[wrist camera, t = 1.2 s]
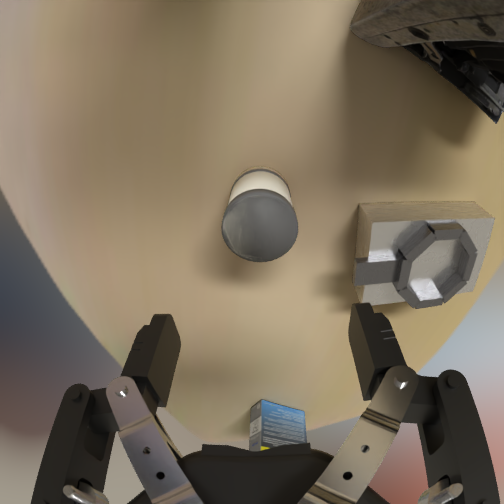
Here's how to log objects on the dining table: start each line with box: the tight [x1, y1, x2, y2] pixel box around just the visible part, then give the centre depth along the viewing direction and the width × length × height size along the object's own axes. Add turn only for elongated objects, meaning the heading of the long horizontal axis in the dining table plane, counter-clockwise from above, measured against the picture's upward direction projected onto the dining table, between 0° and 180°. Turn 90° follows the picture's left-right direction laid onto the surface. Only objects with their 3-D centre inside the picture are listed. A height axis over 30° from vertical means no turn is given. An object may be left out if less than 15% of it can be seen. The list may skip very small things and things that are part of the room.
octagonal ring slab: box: [352, 202, 495, 309], centre depth 26 cm, size 9×15×6 cm, turn 96°
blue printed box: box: [249, 400, 307, 451], centre depth 41 cm, size 9×4×12 cm, turn 59°
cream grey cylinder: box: [221, 166, 298, 262], centre depth 24 cm, size 5×5×7 cm
